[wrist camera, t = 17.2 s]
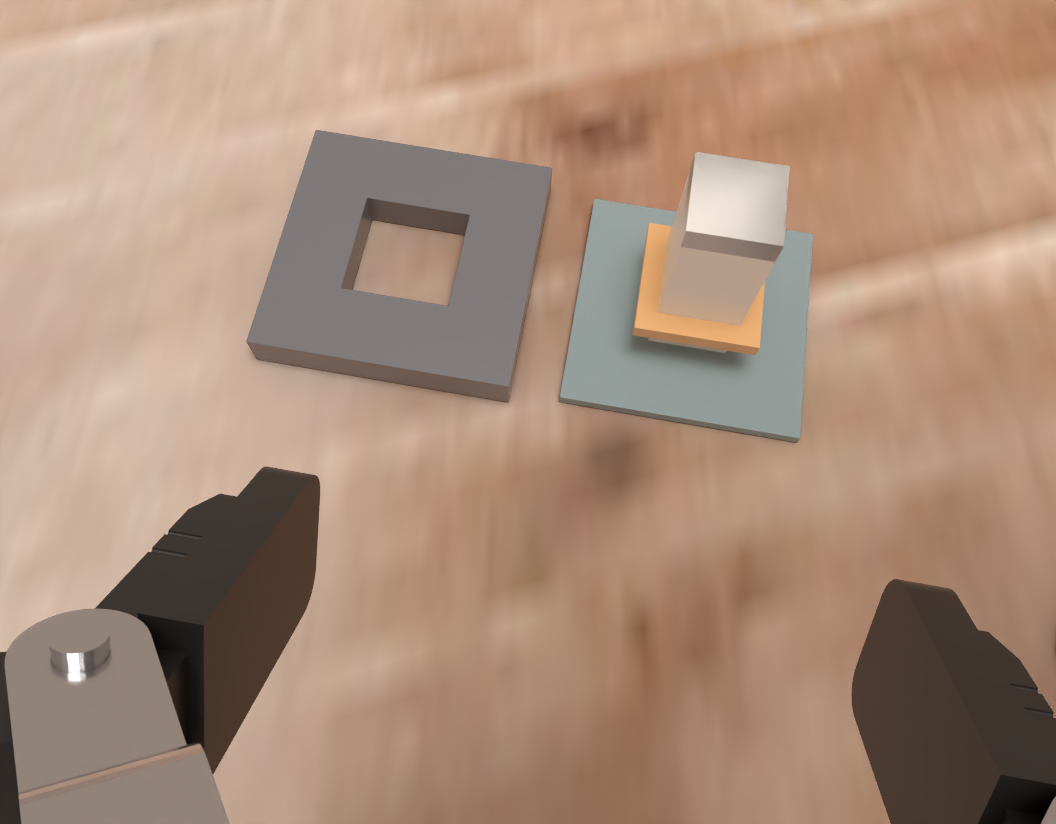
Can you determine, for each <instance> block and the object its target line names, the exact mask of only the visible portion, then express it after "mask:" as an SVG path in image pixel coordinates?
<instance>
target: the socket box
mask: <svg viewBox="0 0 1056 824" xmlns="http://www.w3.org/2000/svg"><path fill="white" fill-rule="evenodd" d="M551 177H552V168H549V167H543V166H537V165H531V164H524V163H518V162H512V161H506V160H500V159H493V158H487V157H481V156H475V155H469V154H462V153H456V152H450V151H444V150H438V149H431V148H425V147H419V146H413V145H407V144H400V143H394V142H388V141H382V140H376V139H369V138H363V137H357V136H351V135H345V134H338V133H332V132H326V131H320V130H316V131H315V134H314V137H313V140H312V143H311V146H310V149H309V152H308V155H307V158H306V161H305V164H304V168H303V171H302V174H301V177H300V180H299V183H298V186H297V189H296V192H295V195H294V198H293V201H292V204H291V207H290V210H289V213H288V216H287V219H286V222H285V225H284V228H283V232H282V235H281V238H280V241H279V244H278V247H277V250H276V253H275V256H274V259H273V262H272V265H271V268H270V271H269V274H268V277H267V280H266V283H265V286H264V289H263V292H262V295H261V299H260V302H259V305H258V308H257V311H256V314H255V317H254V320H253V323H252V326H251V329H250V332H249V335H248V338H247V341H246V342H247V344H248V345H249V347H250V349H251V350H252V352H253V354H254V355H255V357H256V359H259V360H265V361H270V362H276V363H282V364H288V365H294V366H299V367H305V368H311V369H317V370H323V371H329V372H334V373H340V374H346V375H352V376H358V377H364V378H369V379H375V380H381V381H387V382H393V383H398V384H404V385H410V386H416V387H422V388H428V389H433V390H439V391H445V392H451V393H457V394H462V395H468V396H474V397H480V398H486V399H492V400H497V401H503V402H509V397H510V392H511V387H512V382H513V377H514V372H515V367H516V362H517V357H518V352H519V347H520V342H521V337H522V331H523V326H524V321H525V316H526V311H527V306H528V301H529V296H530V291H531V286H532V281H533V276H534V271H535V266H536V261H537V256H538V251H539V245H540V240H541V235H542V230H543V225H544V220H545V215H546V210H547V205H548V200H549V195H550V189H551ZM372 220H377V221H383V222H389V223H395V224H401V225H407V226H413V227H419V228H425V229H431V230H437V231H443V232H450V233H456V234H462V235H465V238H464V242H463V246H462V250H461V255H460V259H459V263H458V267H457V272H456V276H455V280H454V284H453V289H452V293H451V297H450V301H449V306H445V305H439V304H433V303H427V302H421V301H415V300H409V299H403V298H397V297H391V296H385V295H379V294H373V293H367V292H361V291H355V290H352V289H353V285H354V282H355V278H356V275H357V271H358V268H359V264H360V261H361V257H362V254H363V250H364V247H365V243H366V240H367V236H368V233H369V229H370V225H371V222H372Z"/></svg>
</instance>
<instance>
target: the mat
mask: <svg viewBox="0 0 1056 824" xmlns="http://www.w3.org/2000/svg"><path fill="white" fill-rule="evenodd" d="M675 215H676V212H673V211H667V210H661V209H655V208H649V207H643V206H636V205H630V204H624V203H618V202H612V201H606V200H599V199H594V204H593V210H592V215H591V221H590V227H589V233H588V238H587V244H586V250H585V256H584V261H583V267H582V273H581V279H580V284H579V290H578V296H577V301H576V307H575V313H574V319H573V324H572V330H571V336H570V342H569V347H568V353H567V359H566V365H565V370H564V376H563V382H562V387H561V393H560V399H559V402H563V403H569V404H575V405H581V406H587V407H592V408H598V409H604V410H610V411H616V412H622V413H627V414H633V415H639V416H645V417H651V418H657V419H662V420H668V421H674V422H680V423H686V424H692V425H697V426H703V427H709V428H715V429H721V430H727V431H732V432H738V433H744V434H750V435H756V436H762V437H767V438H773V439H779V440H785V441H791V442H797V441H798V440H799V439H800V433H801V417H802V401H803V384H804V368H805V352H806V336H807V320H808V303H809V287H810V271H811V255H812V239H813V234H809V233H803V232H797V231H790V230H785V237H784V247H783V249H782V251H781V252H780V254H779V256H778V258H777V260H776V262H775V263H774V265H773V267H772V269H771V271H770V273H769V275H768V276H767V278H766V280H765V288H764V301H763V313H762V326H761V339H760V348H759V350H758V352H757V353H756V355H751V354H745V353H738V352H732V351H727V352H726V353H721V352H715V351H709V350H703V349H697V348H691V347H685V346H678V345H672V344H666V343H660V342H654V341H648V338H647V337H641V336H635V335H632V334H633V327H634V320H635V312H636V305H637V298H638V291H639V284H640V277H641V269H642V262H643V255H644V248H645V241H646V234H647V229H648V225H649V223H655V224H661V225H667V226H672V225H673V221H674V218H675Z"/></svg>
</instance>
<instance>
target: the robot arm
mask: <svg viewBox="0 0 1056 824" xmlns="http://www.w3.org/2000/svg"><path fill="white" fill-rule="evenodd" d="M319 503H320V482H319V479H318V477H317V476H316V475H311V474H305V473H300V472H294V471H288V470H283V469H277V468H271V467H263V468H262V469H261V470H260V471H259V472H258V473H257V474H256V476H255V477H254V478H253V479H252V480H251V481H250V483H249V484H248V485H247V486H246V487H245V488H244V490H243V491H242V492H241V493H240V494H239V495H238V497H235V496H230V495H224V494H218V495H216V496H214V497H212V498H210V499H208V500H206V501H204V502H202V503H200V504H198V505H196V506H194V507H192V508H190V509H188V510H187V511H186V512H185V513H184V514H183V516H182V517H181V518H180V519H179V520H178V521H177V522H176V523H175V524H174V525H173V526H172V527H171V528H170V529H169V532H168V535H166V534H165V535H164V536H163V537H162V538H161V539H160V540H159V541H158V542H157V543H156V544H155V545H154V546H153V547H152V552H148V553H147V554H146V555H145V556H144V557H143V558H142V559H141V560H140V561H139V562H138V563H137V564H136V566H135V567H134V568H133V569H132V570H131V571H130V572H129V573H128V574H127V575H126V576H125V577H124V578H123V579H122V580H121V581H120V583H119V584H118V585H117V586H116V587H115V588H114V589H113V590H112V591H111V592H110V593H109V594H108V595H107V596H106V597H105V598H104V600H103V601H102V602H101V603H100V604H99V605H98V606H97V607H96V608H95V609H83V610H76V611H70V612H66V613H62V614H58V615H55V616H53V617H50V618H47V619H45V620H43V621H41V622H38V623H36V624H35V625H33V626H31V627H30V628H28V629H27V630H25V631H24V632H23V633H22V634H20V635H19V636H18V637H17V638H16V639H15V640H14V641H13V642H12V644H11V645H10V647H9V649H8V650H7V652H0V824H229V821H228V818H227V815H226V812H225V810H224V807H223V804H222V801H221V798H220V795H219V792H218V789H217V786H216V783H215V780H214V778H213V774H214V772H215V770H216V768H217V767H218V765H219V763H220V761H221V759H222V758H223V756H224V754H225V752H226V751H227V749H228V747H229V745H230V744H231V742H232V740H233V738H234V736H235V735H236V733H237V731H238V729H239V728H240V726H241V724H242V722H243V720H244V719H245V717H246V715H247V713H248V712H249V710H250V708H251V706H252V705H253V703H254V701H255V699H256V697H257V696H258V694H259V692H260V690H261V689H262V687H263V685H264V683H265V682H266V680H267V678H268V676H269V674H270V673H271V671H272V669H273V667H274V666H275V664H276V662H277V660H278V659H279V657H280V655H281V653H282V651H283V650H284V648H285V646H286V644H287V643H288V641H289V639H290V637H291V636H292V634H293V632H294V630H295V628H296V627H297V625H298V623H299V621H300V620H301V618H302V616H303V614H304V612H305V610H306V608H307V605H308V603H309V600H310V596H311V593H312V589H313V584H314V579H315V572H316V557H317V539H318V521H319ZM852 708H853V713H854V717H855V720H856V723H857V726H858V729H859V732H860V735H861V737H862V740H863V743H864V746H865V749H866V752H867V755H868V758H869V761H870V764H871V767H872V770H873V773H874V776H875V779H876V781H877V784H878V787H879V790H880V793H881V796H882V799H883V802H884V805H885V808H886V811H887V814H888V817H889V820H890V823H891V824H1056V718H1053V711H1052V709H1051V708H1050V706H1049V705H1048V703H1047V702H1046V700H1045V699H1044V697H1043V695H1042V694H1038V688H1037V686H1036V684H1035V683H1034V681H1033V680H1032V678H1031V677H1030V675H1029V674H1028V672H1027V670H1026V669H1025V667H1024V666H1023V664H1022V663H1021V661H1020V660H1019V659H1018V658H1017V657H1016V656H1015V655H1014V654H1013V653H1011V652H1010V651H1009V650H1008V649H1007V648H1006V647H1005V646H1003V645H1002V644H1001V643H1000V642H999V641H998V640H997V639H995V638H994V637H993V636H992V635H991V634H990V633H989V632H985V631H979V630H978V629H977V628H976V626H975V624H974V623H973V621H972V619H971V618H970V616H969V615H968V613H967V611H966V610H965V608H964V606H963V605H962V603H961V601H960V600H959V598H958V596H957V595H956V593H955V592H954V591H953V590H951V589H949V588H943V587H937V586H932V585H926V584H921V583H915V582H909V581H904V580H898V579H894V580H892V581H891V582H889V583H888V585H887V586H886V588H885V590H884V592H883V594H882V597H881V599H880V602H879V605H878V608H877V610H876V613H875V616H874V619H873V621H872V624H871V627H870V630H869V633H868V635H867V638H866V641H865V644H864V646H863V649H862V652H861V655H860V657H859V660H858V663H857V666H856V669H855V672H854V677H853V683H852Z"/></svg>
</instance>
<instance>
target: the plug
mask: <svg viewBox="0 0 1056 824" xmlns="http://www.w3.org/2000/svg"><path fill="white" fill-rule="evenodd" d="M788 180H789V166H784V165H777V164H771V163H764V162H758V161H751V160H745V159H739V158H732V157H726V156H719V155H713V154H707V153H700V152H695V155H694V158H693V161H692V164H691V168H690V171H689V174H688V177H687V180H686V183H685V187H684V190H683V193H682V196H681V199H680V202H679V206H678V209H677V212H676V215H675V218H674V221H673V225H672V226H667V225H661V224H655V223H649V225H648V229H647V234H646V241H645V248H644V255H643V262H642V269H641V277H640V284H639V291H638V298H637V305H636V312H635V320H634V327H633V334H632V335H635V336H641V337H647V338H648V341H654V342H660V343H666V344H672V345H678V346H685V347H691V348H697V349H703V350H709V351H715V352H721V353H726V352H727V351H732V352H738V353H745V354H751V355H756V353H757V352H758V350H759V348H760V339H761V326H762V313H763V301H764V288H765V280H766V278H767V276H768V275H769V273H770V271H771V269H772V267H773V265H774V263H775V262H776V260H777V258H778V256H779V254H780V252H781V251H782V249H783V247H784V237H785V223H786V209H787V194H788Z"/></svg>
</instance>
